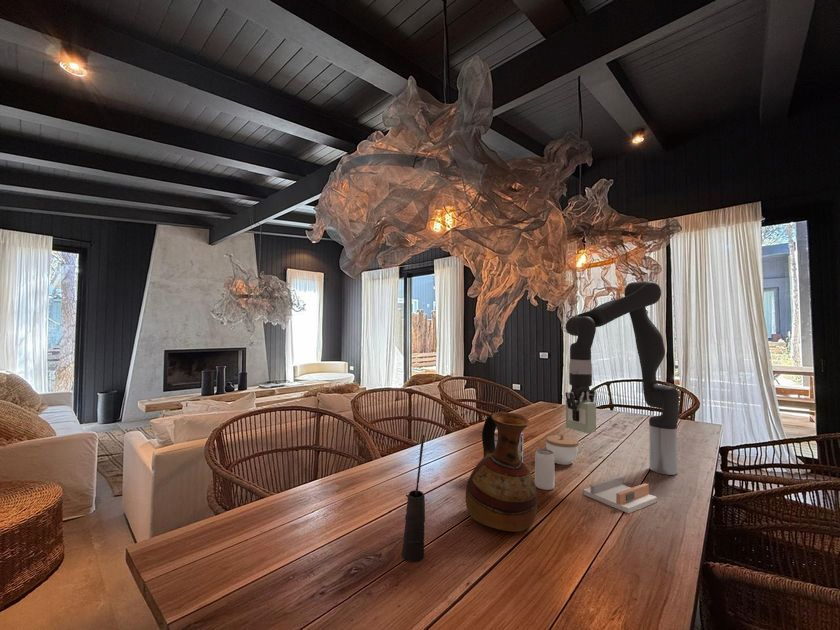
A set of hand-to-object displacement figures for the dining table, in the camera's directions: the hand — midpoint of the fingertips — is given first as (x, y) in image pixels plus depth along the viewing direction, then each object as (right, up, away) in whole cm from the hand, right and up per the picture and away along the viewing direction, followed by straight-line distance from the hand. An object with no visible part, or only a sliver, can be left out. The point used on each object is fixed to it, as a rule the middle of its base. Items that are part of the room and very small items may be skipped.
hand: (580, 420), depth 135 cm
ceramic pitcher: (-35, -20, -29) cm, 50 cm away
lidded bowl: (+1, -23, +21) cm, 31 cm away
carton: (0, -3, 0) cm, 3 cm away
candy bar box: (-26, -22, +2) cm, 34 cm away
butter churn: (-60, -19, -48) cm, 79 cm away
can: (-14, -22, -5) cm, 27 cm away
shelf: (+7, -22, -13) cm, 26 cm away
